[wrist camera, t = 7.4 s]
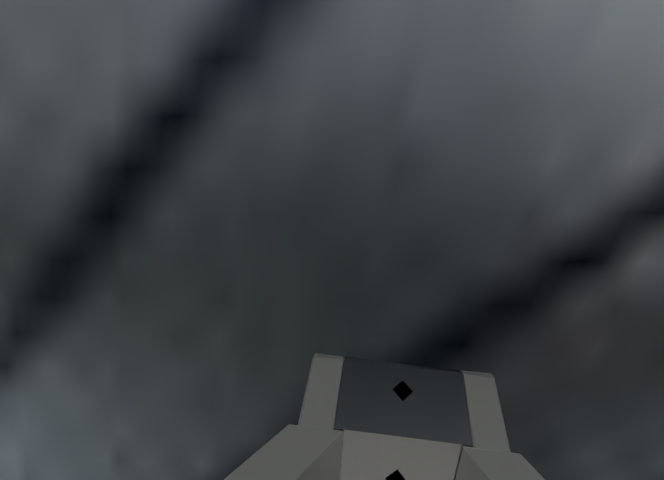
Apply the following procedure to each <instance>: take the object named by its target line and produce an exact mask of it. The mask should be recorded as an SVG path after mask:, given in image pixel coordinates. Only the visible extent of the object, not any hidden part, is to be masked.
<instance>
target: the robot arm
mask: <svg viewBox="0 0 664 480" xmlns="http://www.w3.org/2000/svg"><path fill="white" fill-rule="evenodd" d="M224 480H545V479H544V478H543V477H542V476H541V475H540V474H539V473H538V472H537V471H536V470H535V468H534V467H533V466H532V465H531V464H530V463H529V462H528V461H527V460H526V459H525V458H524V457H523V456H522V455H521V454H519V453H512V452H511V451H510V446H509V442H508V437H507V433H506V428H505V423H504V419H503V414H502V410H501V405H500V401H499V396H498V391H497V387H496V382H495V378H494V376H493V375H492V374H491V373H485V372H475V371H464V370H461V371H459V370H450V369H441V368H432V367H422V366H413V365H404V364H397V363H389V362H382V361H375V360H368V359H361V358H354V357H347V356H345V359H344V357H343V356H336V355H328V354H321V353H315V355H314V357H313V359H312V363H311V368H310V372H309V377H308V381H307V386H306V390H305V395H304V399H303V404H302V408H301V413H300V417H299V422H298V425H292V424H288V425H287V426H286V427H285V428H284V429H283V430H281V431H280V432H279V433H278V434H277V435H275V436H274V437H273V438H272V439H271V440H270V441H268V442H267V443H266V444H265V445H264V446H263V447H261V448H260V449H259V450H258V451H257V452H255V453H254V454H253V455H252V456H251V457H250V458H248V459H247V460H246V461H245V462H244V463H242V464H241V465H240V466H239V467H238V468H237V469H235V470H234V471H233V472H232V473H231V474H230V475H228V476H227V477H226V478H225V479H224Z"/></svg>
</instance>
